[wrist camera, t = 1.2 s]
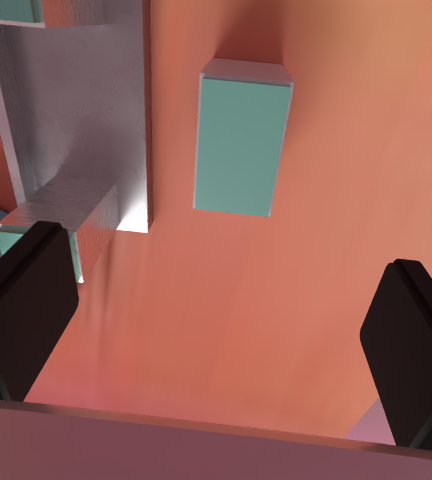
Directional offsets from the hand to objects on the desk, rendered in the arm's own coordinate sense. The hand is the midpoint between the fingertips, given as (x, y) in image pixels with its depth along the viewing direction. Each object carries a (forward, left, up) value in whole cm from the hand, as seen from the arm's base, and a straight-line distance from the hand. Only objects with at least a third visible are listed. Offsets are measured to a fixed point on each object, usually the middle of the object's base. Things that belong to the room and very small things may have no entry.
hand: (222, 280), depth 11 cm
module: (0, 0, -20) cm, 20 cm away
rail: (+12, 0, -20) cm, 23 cm away
